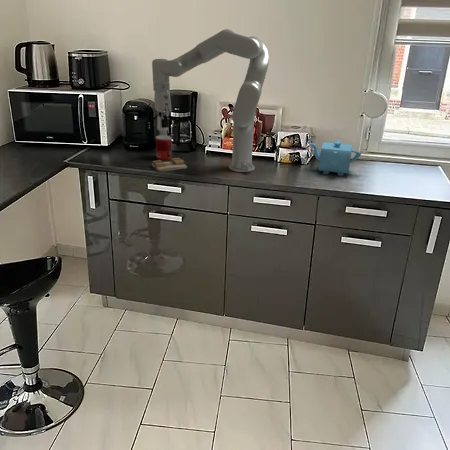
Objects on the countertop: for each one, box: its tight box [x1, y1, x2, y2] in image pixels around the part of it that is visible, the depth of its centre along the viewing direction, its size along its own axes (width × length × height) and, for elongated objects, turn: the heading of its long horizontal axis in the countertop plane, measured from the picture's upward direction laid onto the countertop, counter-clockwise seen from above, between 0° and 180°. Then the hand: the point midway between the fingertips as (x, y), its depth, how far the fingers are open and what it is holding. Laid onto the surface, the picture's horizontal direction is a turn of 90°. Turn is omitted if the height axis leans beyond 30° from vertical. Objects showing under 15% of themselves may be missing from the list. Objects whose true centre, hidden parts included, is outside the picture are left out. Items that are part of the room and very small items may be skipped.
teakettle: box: [308, 139, 362, 177], centre depth 234 cm, size 19×19×15 cm
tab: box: [156, 115, 169, 131], centre depth 232 cm, size 4×4×7 cm
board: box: [151, 157, 188, 173], centre depth 235 cm, size 10×14×2 cm
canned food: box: [155, 134, 173, 161], centre depth 245 cm, size 8×8×11 cm
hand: (163, 126), depth 233 cm, fingers closed on tab, 3 cm apart
